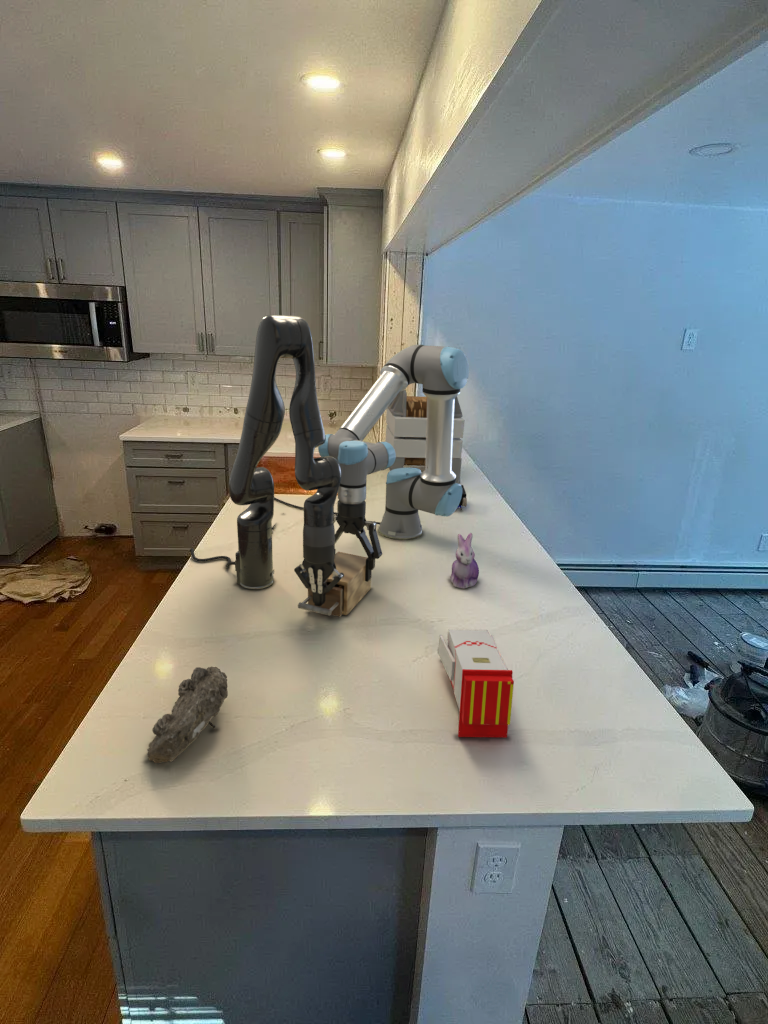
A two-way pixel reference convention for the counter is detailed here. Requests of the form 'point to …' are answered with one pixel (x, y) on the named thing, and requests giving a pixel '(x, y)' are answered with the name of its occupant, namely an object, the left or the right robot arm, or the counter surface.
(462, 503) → the figurine character
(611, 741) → the counter surface
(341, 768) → the counter surface
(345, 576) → the cabinet
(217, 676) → the fossil
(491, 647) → the toy
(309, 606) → the drawer
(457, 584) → the figurine
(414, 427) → the grey slatted crate
